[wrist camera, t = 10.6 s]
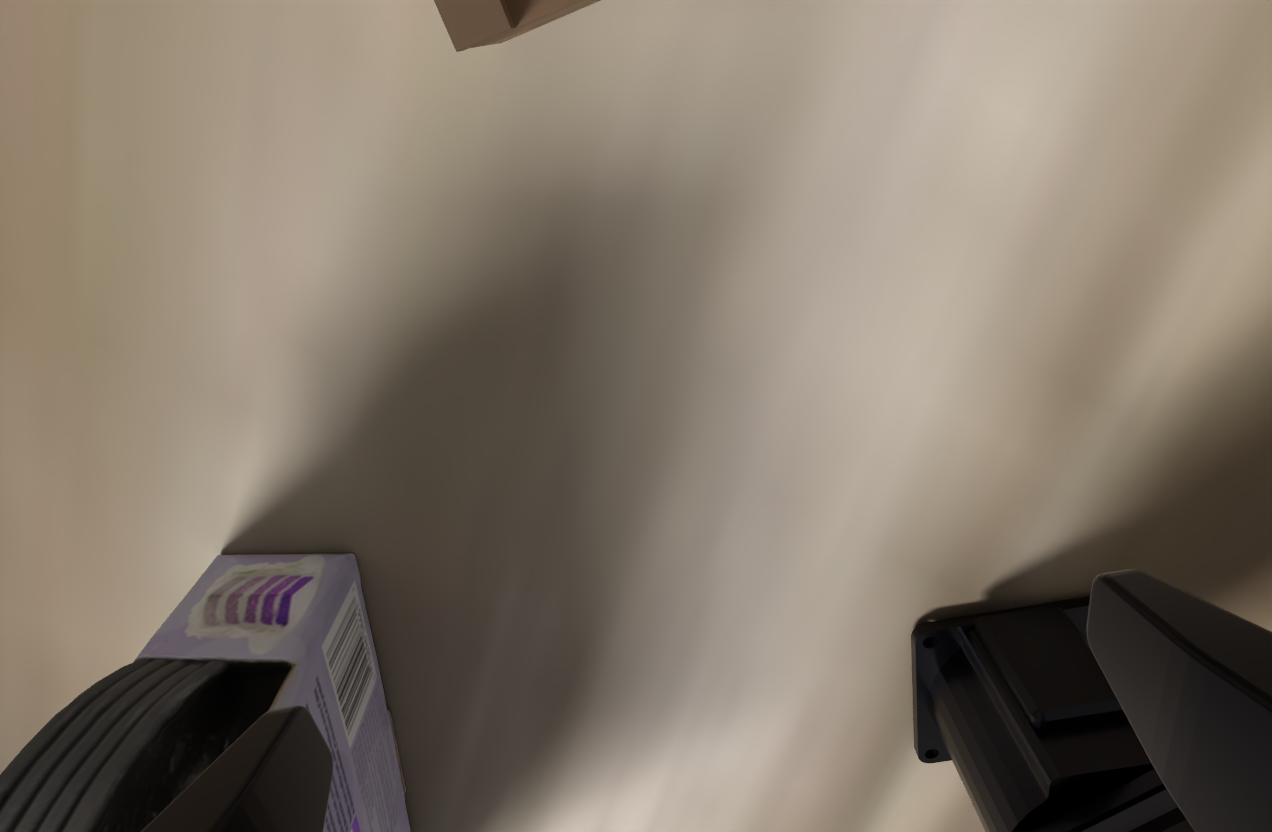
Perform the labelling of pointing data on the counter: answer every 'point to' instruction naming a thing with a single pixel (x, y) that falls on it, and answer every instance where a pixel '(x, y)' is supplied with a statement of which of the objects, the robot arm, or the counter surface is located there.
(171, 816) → the robot arm
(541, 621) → the counter surface
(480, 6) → the walnut crate
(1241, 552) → the counter surface
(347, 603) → the cake pan box
